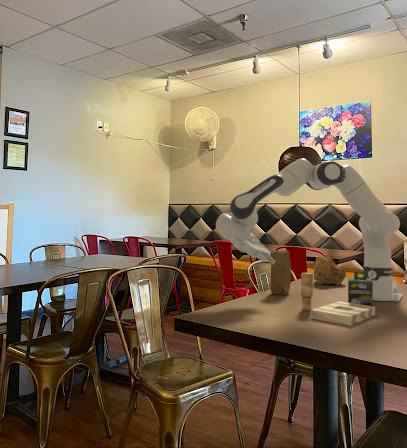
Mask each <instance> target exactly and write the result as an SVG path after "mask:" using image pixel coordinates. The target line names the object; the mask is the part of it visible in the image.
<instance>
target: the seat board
mask: <svg viewBox="0 0 407 448" xmlns="http://www.w3.org/2000/svg"><path fill="white" fill-rule="evenodd" d="M310 312H311V313H310V314H311V319H314V320H319V321H325V322H328V323H333V324H338V325H344V326H354V325H355V324H358V323H360V322H362V321H365V320H367V319H369V318H372V317H373V316H374V317H375V315H376V306H373V305H372V306H366V305H359V304H353V303H348V302H345V301H340V300H339V301H336V302H332V303H330V304H326V305H323V306H319V307H315V308H313V309H312V308H311V311H310Z"/></svg>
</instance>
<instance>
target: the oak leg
mask: <svg viewBox="0 0 407 448" xmlns="http://www.w3.org/2000/svg"><path fill="white" fill-rule="evenodd" d="M300 276H301V277H300V296H301V311H306V312H311V310H312V298H313V295H314V294H313V293H314V291H313V290H314V287H313V286H314V273H313V272H311V273H310V272H301V274H300Z"/></svg>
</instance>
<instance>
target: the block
mask: <svg viewBox="0 0 407 448" xmlns="http://www.w3.org/2000/svg"><path fill="white" fill-rule="evenodd" d="M290 255H291V254H290V251H289V250H275V251H272V253H271V258H272V259H273V260H274V261H275V263H274V264H271V263H270V293H271V294H273V295H279V296H285V295H288V294H289V292H290V289H291V283H292V280H291V279H292V278H291V277H292V268H291V267H292V266H291V258H290V257H291V256H290Z"/></svg>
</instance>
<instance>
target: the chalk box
mask: <svg viewBox="0 0 407 448" xmlns="http://www.w3.org/2000/svg"><path fill="white" fill-rule="evenodd" d="M358 275H362V276H363V277H362V276H361V277H360V276H358ZM347 301H348V302H347V303H353V304H359V305H366V306H372V307H373V301H374V300H373V281H372V279H371V278H367V272H364V271H363V270H362V271H361V270H355V271H354V272H353V277H348V278H347Z"/></svg>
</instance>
